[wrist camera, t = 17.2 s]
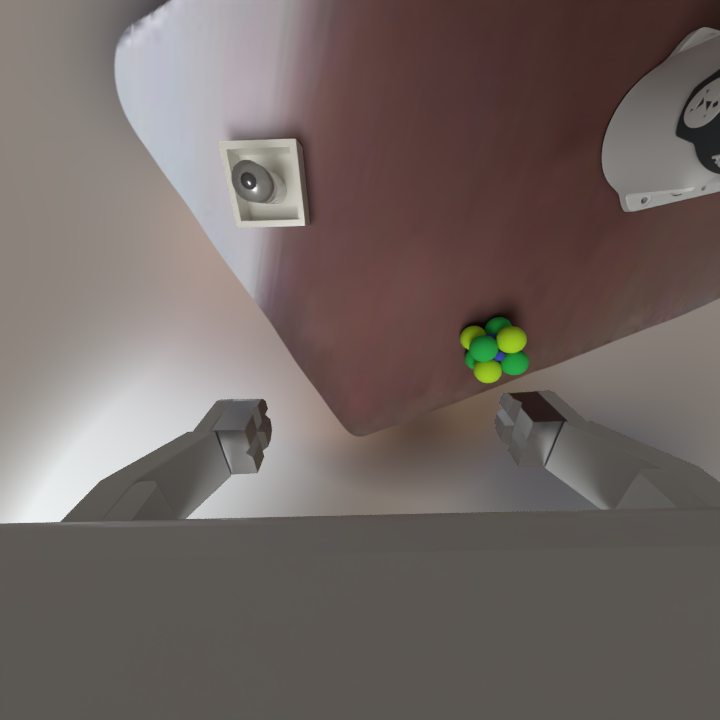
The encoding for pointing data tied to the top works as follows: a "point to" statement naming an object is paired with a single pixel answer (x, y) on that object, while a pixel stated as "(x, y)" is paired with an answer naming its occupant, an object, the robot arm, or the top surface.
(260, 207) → the cream square tray
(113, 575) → the robot arm
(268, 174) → the cylinder
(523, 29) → the top surface
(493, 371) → the molecule model
